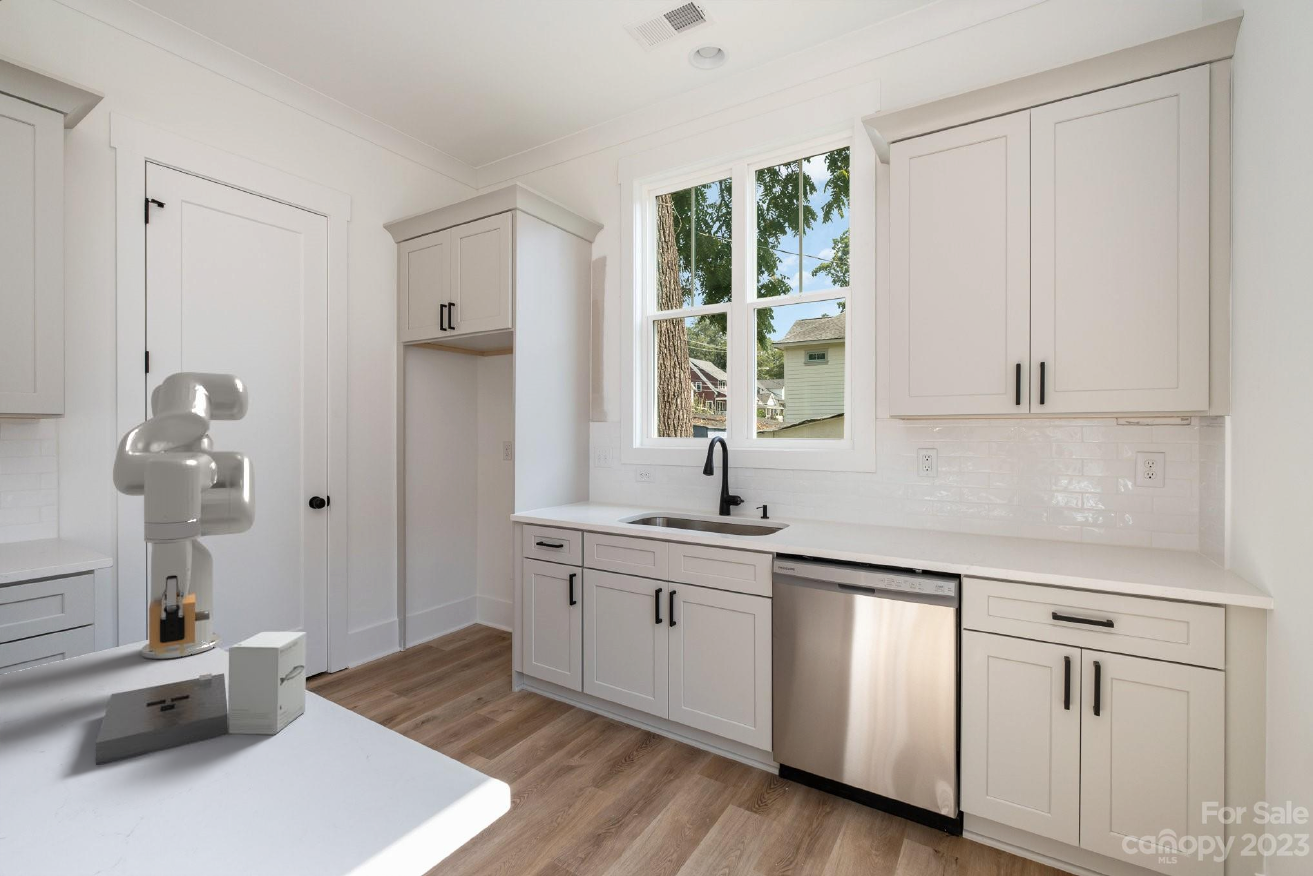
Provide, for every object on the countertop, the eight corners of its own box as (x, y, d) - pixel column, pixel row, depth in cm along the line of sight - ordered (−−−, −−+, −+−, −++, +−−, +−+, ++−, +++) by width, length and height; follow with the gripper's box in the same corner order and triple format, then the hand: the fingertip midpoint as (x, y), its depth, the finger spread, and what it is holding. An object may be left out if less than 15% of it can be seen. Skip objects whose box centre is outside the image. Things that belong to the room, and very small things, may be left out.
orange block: (209, 640, 109) (209, 592, 109) (209, 650, 105) (209, 600, 105) (151, 650, 104) (151, 599, 104) (149, 660, 100) (149, 608, 100)
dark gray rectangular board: (111, 713, 93) (112, 689, 93) (224, 691, 102) (224, 668, 101) (95, 766, 79) (95, 736, 79) (227, 734, 87) (227, 708, 87)
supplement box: (276, 735, 87) (277, 647, 87) (225, 734, 87) (226, 646, 87) (307, 712, 95) (308, 631, 94) (260, 711, 95) (261, 630, 95)
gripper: (147, 523, 108) (148, 624, 108) (139, 542, 94) (140, 657, 95) (200, 519, 112) (200, 617, 113) (200, 537, 98) (200, 648, 99)
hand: (173, 634), depth 104 cm, fingers closed on orange block, 4 cm apart
